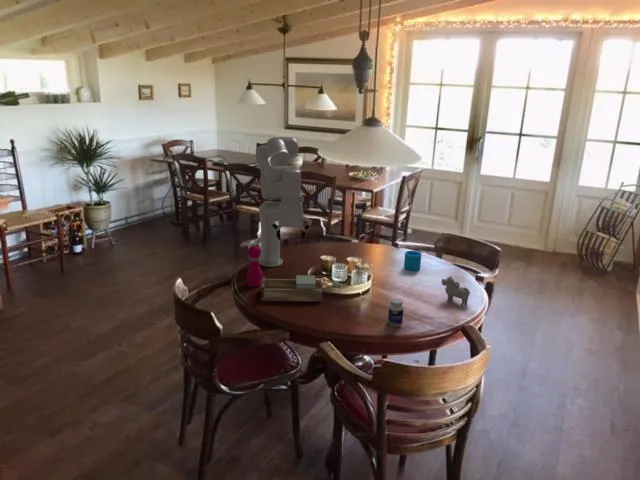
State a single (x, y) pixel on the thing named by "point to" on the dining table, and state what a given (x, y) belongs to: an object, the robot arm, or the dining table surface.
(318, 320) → the dining table surface
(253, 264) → the pepper mill
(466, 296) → the dog figurine
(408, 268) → the mug
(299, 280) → the grey-green block
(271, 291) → the bay
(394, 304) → the pill bottle
